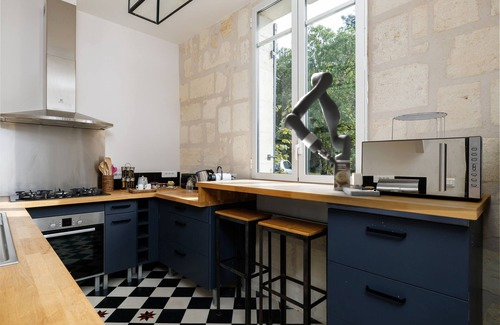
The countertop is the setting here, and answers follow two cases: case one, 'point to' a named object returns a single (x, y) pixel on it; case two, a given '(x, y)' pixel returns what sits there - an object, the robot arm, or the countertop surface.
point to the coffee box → (341, 175)
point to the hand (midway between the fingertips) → (334, 163)
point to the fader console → (361, 192)
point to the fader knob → (357, 180)
